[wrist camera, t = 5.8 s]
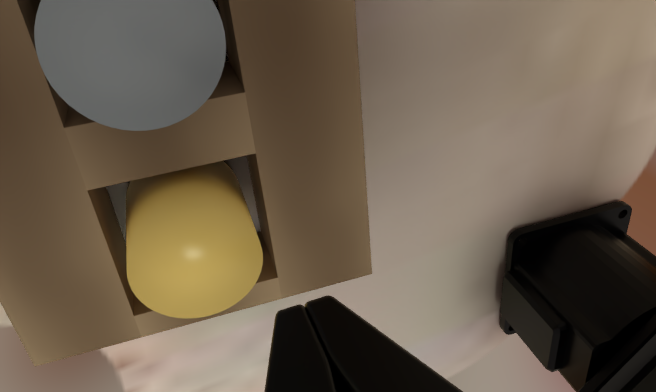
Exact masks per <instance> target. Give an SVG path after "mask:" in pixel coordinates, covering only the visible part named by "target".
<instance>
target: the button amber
mask: <svg viewBox="0 0 656 392" xmlns="http://www.w3.org/2000/svg"><path fill="white" fill-rule="evenodd" d="M126 262H127V278H128V282H129V285H130V287H131V289H132V291H133V293H134V294H135V296H136V297H137V298H138V299H139V300H140V301H141V302H142V303H143V304H144V305H145V306H147V307H148V308H150V309H151V310H153V311H155V312H158V313H160V314H163V315H166V316H169V317H175V318H185V319H186V318H200V317H206V316H210V315H213V314H216V313H219V312H221V311H224V310H226V309H228V308H230V307H231V306H233V305H235V304H236V303H237V302H239V301H240V300H241V299H243V298H244V297H245V296H246V295H247V294H248V293H249V292H250V290H251V289H252V288H253V286H254V285H255V284H256V282H257V280H258V278H259V275H260V273H261V269H262V265H263V252H262V247H261V244H260V241H259V238H258V235H257V232H256V229H255V227H254V224H253V221H252V218H251V215H250V213H249V210H248V207H247V204H246V201H245V198H244V196H243V193H242V190H241V187H240V184H239V181H238V179H237V177H236V175H235V174H234V172H233V171H232V169H231V168H230V167H229V166H228V165H227V164H226V163H225V162H223V161H219V162H214V163H210V164H205V165H200V166H196V167H191V168H187V169H182V170H178V171H173V172H169V173H164V174H160V175H155V176H151V177H146V178H142V179H137V180H132V181H130V184H129V186H128V189H127V193H126Z"/></svg>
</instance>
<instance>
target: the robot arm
mask: <svg viewBox="0 0 656 392" xmlns="http://www.w3.org/2000/svg"><path fill="white" fill-rule="evenodd" d="M631 212H632V208H631V207H630V206H629V205H628V204H626V203H625V202H623V201H619V202H615V203H611V204H608V205H604V206H600V207H597V208H593V209H589V210H586V211H582V212H578V213H575V214H571V215H567V216H564V217H560V218H556V219H553V220H549V221H545V222H542V223H538V224H535V225H531V226H527V227H524V228H520V229H517V230H515V231H514V232H513V233H511V235H510V236H509V239H508V248H507V258H506V268H505V275H504V279H503V289H502V299H501V310H500V313H501V319H500V327H501V329H502V330H503V331H504V332H505V333H506V334H508V335H509V334H514V333H517V334H518V335H519V336H520V338H521V339H522V340H523V341H524V343H525V344H526V345H527V346H528V347H529V348H530V350H531V351H532V352H533V354H534V355H535V356H536V357H537V358H538V360H539V361H540V362H541V363H542V364H543V366H544V367H545V368H546V369H547V370H549V371H551V372H554V371H557V370H558V371H559V372H560V373H561V375H563V377H564V378H565V379H566V380H567V382H568V383H569V384H570V385H571V386H572V388H573V389H574V390H575V391H576V392H656V256H655V255H653V254H652V253H651V252H649V251H648V250H647V249H645V248H644V247H643V246H641V245H640V244H639V243H637V242H636V241H635V240H633V239H632V238H631V237H630V236H628V235H627V234H626V233H627V229H628V225H629V221H630V216H631ZM520 239H521V240H520ZM519 240H520V241H519ZM265 392H463V391H461V390H460V389H458V388H457V387H456V386H454V385H453V384H451V383H450V382H449V381H447V380H446V379H445V378H443V377H442V376H441V375H439V374H438V373H437V372H435V371H434V370H432V369H431V368H430V367H428V366H427V365H426V364H424V363H423V362H421V361H420V360H419V359H417V358H416V357H415V356H413V355H412V354H410V353H409V352H408V351H406V350H405V349H404V348H402V347H401V346H400V345H398V344H397V343H395V342H394V341H393V340H391V339H390V338H389V337H387V336H386V335H384V334H383V333H382V332H380V331H379V330H378V329H376V328H375V327H373V326H372V325H371V324H369V323H368V322H367V321H365V320H364V319H362V318H361V317H360V316H358V315H357V314H356V313H354V312H353V311H352V310H350V309H349V308H347V307H346V306H345V305H343V304H342V303H341V302H339V301H338V300H336V299H335V298H334V297H332V296H324V297H321V298H318V299H315V300H312V301H309V302H307V303H306V304H305V307H304V306H303V305H296V306H293V307H290V308H286V309H283V310H280V311H278V312H277V314H276V317H275V323H274V330H273V337H272V344H271V351H270V358H269V365H268V371H267V378H266V385H265Z"/></svg>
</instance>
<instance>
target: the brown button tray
mask: <svg viewBox="0 0 656 392" xmlns="http://www.w3.org/2000/svg"><path fill="white" fill-rule="evenodd" d="M40 2H41V0H0V302H1V304H2V306H3V308H4V310H5V312H6V314H7V315H8V317H9V319H10V321H11V323H12V325H13V327H14V328H15V330H16V332H17V334H18V336H19V338H20V340H21V342H22V344H23V345H24V347H25V349H26V351H27V353H28V355H29V357H30V359H31V361H32V362H33V364H34V366H39V365H42V364H46V363H50V362H53V361H57V360H61V359H64V358H68V357H71V356H75V355H79V354H82V353H86V352H90V351H93V350H97V349H101V348H104V347H108V346H111V345H115V344H119V343H122V342H126V341H130V340H133V339H137V338H140V337H144V336H148V335H151V334H155V333H159V332H162V331H166V330H169V329H173V328H177V327H180V326H184V325H188V324H191V323H195V322H198V321H202V320H206V319H209V318H213V317H217V316H220V315H224V314H228V313H231V312H235V311H238V310H242V309H246V308H249V307H253V306H257V305H260V304H264V303H267V302H271V301H275V300H278V299H282V298H286V297H289V296H293V295H296V294H300V293H304V292H307V291H311V290H315V289H318V288H322V287H325V286H329V285H333V284H336V283H340V282H344V281H347V280H351V279H354V278H358V277H362V276H365V275H369V274H372V268H371V252H370V236H369V220H368V204H367V188H366V172H365V156H364V140H363V125H362V109H361V93H360V77H359V61H358V45H357V29H356V13H355V0H218V5H219V10H220V15H221V20H222V23H223V27H224V31H225V39H226V47H227V53H228V58H229V61H228V62H225V63H224V68H223V71H222V75H221V77H220V80H219V82H218V84H217V86H216V88H215V89H214V91H213V93H212V94H211V96H210V97H209V98H208V99H207V101H206V102H205V103H204V104H203V105H202V106H201V107H200V108H199V109H198V110H197V111H195V112H194V113H193V114H191V115H190V116H188V117H187V118H185V119H183V120H181V121H179V122H177V123H175V124H172V125H170V126H167V127H163V128H159V129H154V130H147V131H131V130H121V129H117V128H112V127H108V126H105V125H102V124H99V123H97V122H95V121H93V120H91V119H89V118H87V117H85V116H84V115H82V114H80V113H79V112H77V111H76V110H75V109H73V108H72V107H71V106H69V105H68V104H67V103H66V102H65V101H64V100H63V99H62V98H61V97H60V96H59V95H58V94H57V92H56V91H55V90H54V89H53V87H52V86H51V84H50V83H49V81H48V79H47V78H46V76H45V74H44V72H43V70H42V68H41V65H40V63H39V59H38V56H37V53H36V47H35V40H34V26H35V20H36V14H37V11H38V7H39V4H40ZM246 155H247V159H248V164H249V170H250V175H251V180H252V186H253V191H254V196H255V202H256V207H257V212H258V218H259V223H260V228H261V232H257V235H258V238H259V241H260V244H261V247H262V252H263V265H262V269H261V273H260V275H259V278H258V280H257V282H256V284H255V285H254V286H253V288H252V289H251V290H250V292H249V293H248V294H247V295H246V296H245V297H244V298H243V299H241V300H240V301H239V302H237V303H236V304H235V305H233V306H231V307H230V308H228V309H226V310H224V311H221V312H219V313H216V314H213V315H210V316H206V317H200V318H186V319H185V318H175V317H169V316H166V315H163V314H160V313H158V312H155V311H153V310H151V309H150V308H148V307H147V306H145V305H144V304H143V303H142V302H141V301H140V300H139V299H138V298H137V297H136V296H135V294H134V293H133V291H132V289H131V287H130V285H129V282H128V278H127V262H126V244H125V241H124V238H123V235H122V232H121V229H120V227H119V224H118V221H117V218H116V215H115V212H114V209H113V207H112V204H111V201H110V198H109V195H108V192H107V189H106V187H105V186H110V185H114V184H119V183H123V182H128V181H132V180H137V179H142V178H146V177H151V176H155V175H160V174H164V173H169V172H173V171H178V170H182V169H187V168H191V167H196V166H200V165H205V164H210V163H214V162H219V161H223V160H228V159H232V158H237V157H241V156H246Z"/></svg>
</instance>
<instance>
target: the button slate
mask: <svg viewBox="0 0 656 392" xmlns="http://www.w3.org/2000/svg"><path fill="white" fill-rule="evenodd" d="M34 40H35V47H36V53H37V56H38V59H39V63H40V65H41V68H42V70H43V72H44V74H45V76H46V78H47V79H48V81H49V83H50V84H51V86H52V87H53V89H54V90H55V91H56V92H57V94H58V95H59V96H60V97H61V98H62V99H63V100H64V101H65V102H66V103H67V104H68V105H69V106H71V107H72V108H73V109H75V110H76V111H77V112H79V113H80V114H82V115H84V116H85V117H87V118H89V119H91V120H93V121H95V122H97V123H99V124H102V125H105V126H108V127H112V128H117V129H121V130H131V131H147V130H154V129H159V128H163V127H167V126H170V125H172V124H175V123H177V122H179V121H181V120H183V119H185V118H187V117H188V116H190V115H191V114H193V113H194V112H195V111H197V110H198V109H199V108H200V107H201V106H202V105H203V104H204V103H205V102H206V101H207V99H208V98H209V97H210V96H211V94H212V93H213V91H214V89H215V88H216V86H217V84H218V82H219V80H220V77H221V75H222V71H223V68H224V63H225V57H226V39H225V31H224V27H223V23H222V20H221V17H220V15H219V12H218V10H217V8H216V6H215V4H214V2H213V1H212V0H41V2H40V4H39V7H38V11H37V14H36V20H35V26H34Z"/></svg>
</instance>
